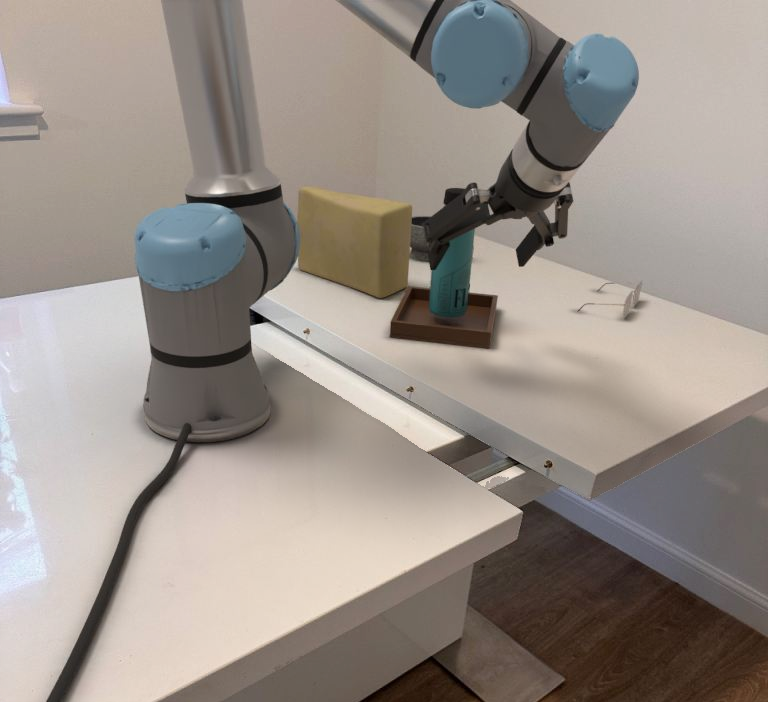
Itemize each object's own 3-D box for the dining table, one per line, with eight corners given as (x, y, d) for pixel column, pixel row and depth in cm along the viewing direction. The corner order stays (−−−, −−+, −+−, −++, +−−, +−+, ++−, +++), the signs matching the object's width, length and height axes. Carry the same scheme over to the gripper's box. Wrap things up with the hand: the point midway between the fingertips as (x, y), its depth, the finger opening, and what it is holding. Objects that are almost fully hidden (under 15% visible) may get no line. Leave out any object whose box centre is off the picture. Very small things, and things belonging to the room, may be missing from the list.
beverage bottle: (452, 330, 114) (466, 196, 103) (418, 319, 117) (428, 188, 106) (474, 319, 119) (489, 189, 107) (440, 309, 122) (452, 182, 110)
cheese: (283, 274, 135) (280, 189, 126) (315, 262, 142) (314, 181, 133) (380, 301, 126) (384, 210, 117) (409, 287, 132) (415, 200, 124)
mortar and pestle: (393, 257, 147) (396, 195, 140) (414, 247, 154) (418, 187, 147) (443, 267, 143) (448, 203, 136) (462, 256, 150) (468, 195, 143)
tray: (489, 348, 110) (491, 332, 109) (389, 337, 112) (390, 321, 111) (495, 310, 125) (498, 295, 123) (407, 300, 127) (408, 285, 125)
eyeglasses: (622, 321, 122) (625, 298, 120) (575, 315, 126) (578, 292, 124) (640, 299, 133) (643, 277, 130) (596, 294, 136) (599, 272, 134)
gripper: (443, 197, 79) (397, 287, 99) (641, 194, 85) (559, 280, 105) (432, 135, 80) (388, 237, 100) (628, 137, 86) (549, 233, 107)
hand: (476, 259), depth 103 cm, fingers open, 13 cm apart
